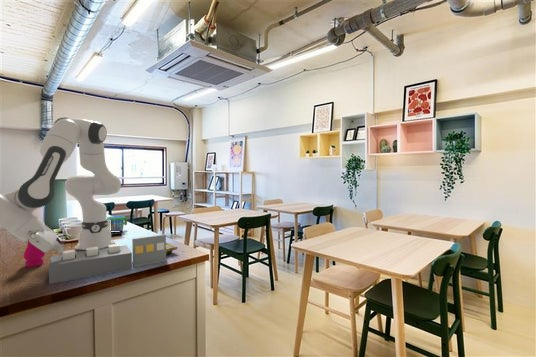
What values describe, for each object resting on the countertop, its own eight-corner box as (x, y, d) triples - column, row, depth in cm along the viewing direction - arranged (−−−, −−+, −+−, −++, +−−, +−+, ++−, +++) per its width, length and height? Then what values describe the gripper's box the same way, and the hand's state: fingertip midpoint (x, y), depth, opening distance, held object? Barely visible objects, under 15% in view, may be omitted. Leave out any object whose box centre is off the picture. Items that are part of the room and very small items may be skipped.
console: (51, 272, 116) (51, 255, 116) (127, 260, 132) (126, 245, 132) (49, 284, 104) (48, 265, 104) (132, 268, 120) (131, 252, 120)
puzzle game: (158, 238, 155) (177, 245, 141) (158, 246, 155) (177, 254, 142) (136, 242, 146) (154, 250, 133) (136, 251, 146) (155, 260, 133)
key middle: (86, 258, 118) (86, 247, 118) (97, 256, 121) (97, 246, 121) (86, 261, 115) (86, 250, 115) (98, 259, 117) (98, 248, 117)
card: (132, 264, 126) (131, 237, 126) (164, 258, 134) (164, 233, 134) (134, 267, 122) (133, 240, 122) (167, 261, 130) (166, 235, 129)
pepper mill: (32, 262, 129) (30, 218, 128) (48, 261, 129) (47, 218, 128) (19, 267, 121) (17, 221, 121) (37, 267, 122) (35, 221, 121)
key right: (108, 255, 123) (108, 245, 123) (118, 253, 125) (118, 243, 125) (109, 257, 120) (109, 247, 119) (119, 255, 122) (119, 245, 122)
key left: (63, 262, 114) (62, 251, 114) (75, 260, 116) (74, 249, 116) (62, 264, 111) (62, 253, 110) (75, 262, 113) (74, 251, 113)
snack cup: (121, 228, 198) (121, 214, 197) (132, 230, 193) (131, 215, 192) (100, 233, 184) (99, 218, 183) (110, 235, 179) (110, 219, 178)
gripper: (34, 227, 99) (69, 250, 105) (40, 218, 116) (70, 239, 122) (18, 242, 97) (54, 264, 102) (26, 231, 114) (57, 251, 119)
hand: (63, 250), depth 112 cm, fingers closed
